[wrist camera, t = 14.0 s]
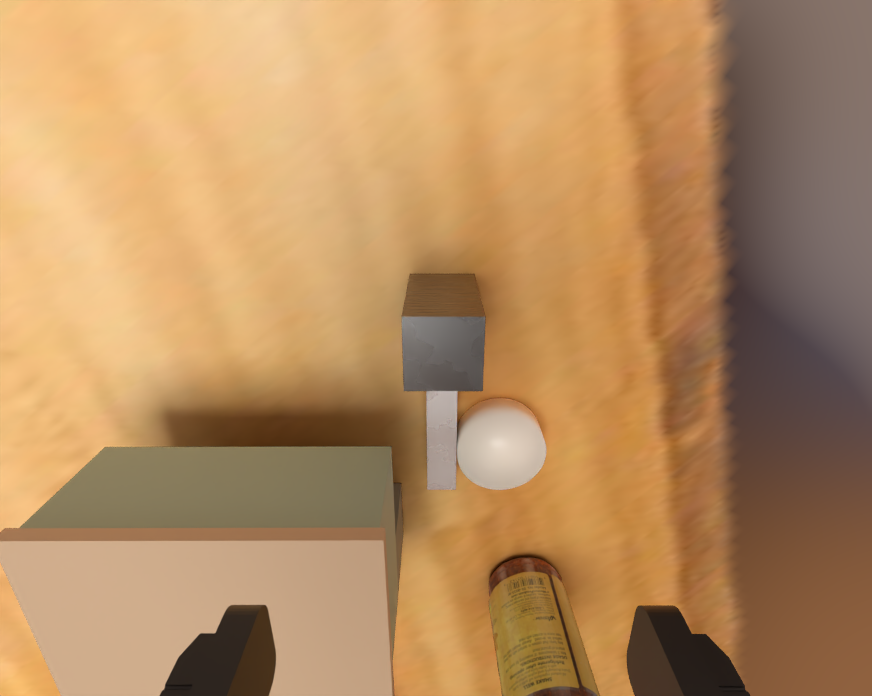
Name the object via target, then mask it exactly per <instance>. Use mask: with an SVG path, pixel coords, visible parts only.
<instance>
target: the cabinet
mask: <svg viewBox="0 0 872 696" xmlns="http://www.w3.org/2000/svg"><path fill="white" fill-rule="evenodd" d="M402 542H403V519H402V493H401V483H393V469H392V447H391V446H337V447H105V448H104V449H103V450H102V451H100V452H99V453H98V454H97V455H96V456H95V457H94V458H93V459H92V460H91V461H90V462H89V463H88V464H87V465H86V466H85V467H83V468H82V469H81V470H80V471H79V472H78V473H77V474H76V475H75V476H74V477H73V478H72V479H71V480H70V481H69V482H68V483H66V484H65V485H64V486H63V487H62V488H61V489H60V490H59V491H58V492H57V493H56V494H55V495H54V496H53V497H52V498H51V499H49V500H48V501H47V502H46V503H45V504H44V505H43V506H42V507H41V508H40V509H39V510H38V511H37V512H36V513H35V514H34V515H32V516H31V517H30V518H29V519H28V520H27V521H26V522H25V523H24V524H23V525H22V526H21V527H20V528H5V529H4V530H2V531H1V532H0V563H1V565H2V567H3V570H4V572H5V574H6V576H7V578H8V580H9V583H10V585H11V587H12V589H13V591H14V594H15V596H16V598H17V600H18V602H19V605H20V607H21V609H22V611H23V613H24V616H25V618H26V620H27V622H28V624H29V626H30V629H31V631H32V633H33V635H34V637H35V640H36V642H37V644H38V646H39V648H40V651H41V653H42V655H43V657H44V659H45V661H46V664H47V666H48V668H49V670H50V672H51V675H52V677H53V679H54V681H55V683H56V686H57V688H58V690H59V692H60V694H61V696H160V694H161V692H162V690H164V688H165V684H166V682H167V680H168V678H169V675H170V673H171V671H172V669H173V667H174V665H175V663H176V661H177V659H178V657H179V656H180V655H181V654H182V653H183V652H184V651H185V649H186V648H187V647H188V646H189V645H190V644H191V643H192V642H193V641H194V640H195V639H196V637H197V636H198V635H199V634H200V633H216V631H217V628H218V626H219V624H220V622H221V619H222V617H223V615H224V613H225V611H226V609H227V608H228V607H229V606H230V605H266V606H267V608H268V612H269V617H270V623H271V628H272V633H273V639H274V644H275V649H276V667H275V674H274V679H273V684H272V687H271V691H270V694H269V696H395V695H394V677H393V650H394V638H395V626H396V614H397V602H398V590H399V578H400V566H401V554H402Z"/></svg>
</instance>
